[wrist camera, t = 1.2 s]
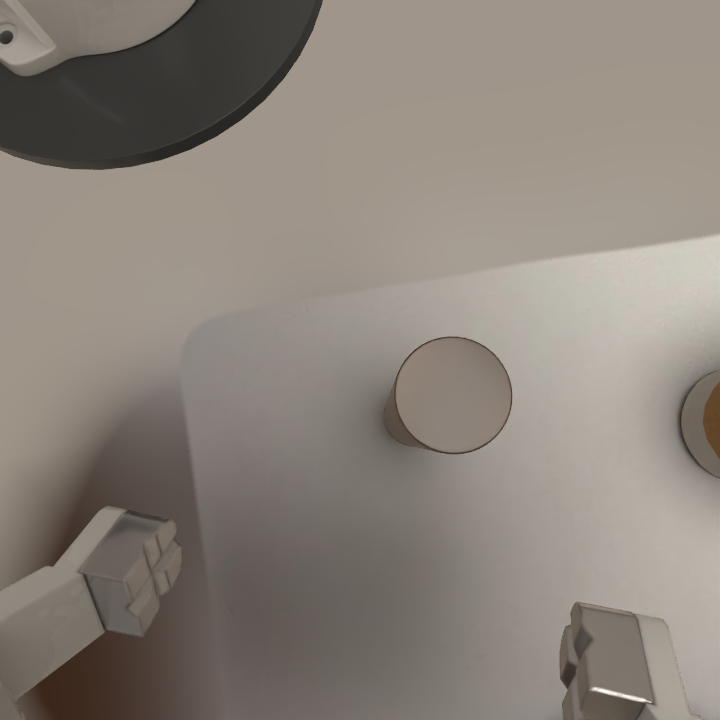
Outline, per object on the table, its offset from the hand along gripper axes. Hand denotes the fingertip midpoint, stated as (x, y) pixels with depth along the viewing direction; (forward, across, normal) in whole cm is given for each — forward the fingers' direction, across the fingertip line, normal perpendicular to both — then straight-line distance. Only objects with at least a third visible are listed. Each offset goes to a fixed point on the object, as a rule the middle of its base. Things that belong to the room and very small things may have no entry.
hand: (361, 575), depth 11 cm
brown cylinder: (+18, +1, +10) cm, 21 cm away
